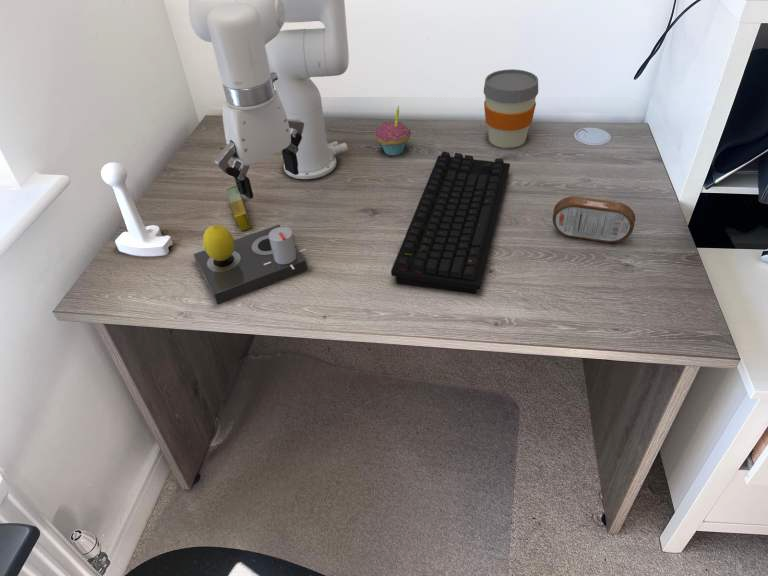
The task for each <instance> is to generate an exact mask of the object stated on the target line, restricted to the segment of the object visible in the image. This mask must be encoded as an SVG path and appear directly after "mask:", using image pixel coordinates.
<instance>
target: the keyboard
mask: <svg viewBox="0 0 768 576" xmlns="http://www.w3.org/2000/svg"><path fill="white" fill-rule="evenodd" d="M510 168H511V163H509V162H505V161H504V158H503V157H502V158H495V159H494V161H493V160H492V161H491V160H484V159H475V158H474V156H473V155H470V154H469V155H467V154H465V155H463V153H460V152H455V153H454V156H451V154H450V152H449V151H442V152H441V154H440V155H437V157H436V160H435V163H434V165H433V168H432V170H431V172H430V175H429V177H428V180H427V182H426V184H425V187H424V190H423V192H422V195H421V197H420V199H419V202H418V204H417V207H416V210H415V211H414V214H413V216H412V219H411V220H410V223H409V226H408V229H407V231H406V233H405V235H404V238H403V240H402V243H401V245H400V248H399V250H398V253H397V255H396V258H395V260H394V263H393V265H392V267H391V270H390V274H391V276H392V277H395V280H396V284H398V285H405V286H411V287H420V288H424V289H425V288H426V289H434V290H442V291H447V292H456V293H462V294H463V293H464V294H469V295H470V294H471V295H477V292H478V290H481V288H482V284H483V279H484V275H485V271H486V267H487V263H488V258H489V255H490V250H491V247H492V242H493V238H494V235H495V230H496V226H497V221H498V217H499V213H500V208H501V205H502V200H503V197H504V192H505V189H506V184H507V179H508V176H509V172H510Z"/></svg>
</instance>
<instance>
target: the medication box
mask: <svg viewBox="0 0 768 576" xmlns="http://www.w3.org/2000/svg"><path fill="white" fill-rule="evenodd" d="M226 192H227V193H226V194H227V197H228V200H229V203H230V207H231V211H232V214H233V217H234V220H235V222H236V225H237V226H238V229H239V231H240V232H243V231H245V230H249V229H251V228H252V227H253V226H252V223H251V220H250V217H249V216H250V215H249V213H248V210H247V207H246V204H245V201H244V198H243V195H242V194H240V193H239V191H238V188H237V185H235V186H232V187H229V188H227V189H226Z"/></svg>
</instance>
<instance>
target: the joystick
mask: <svg viewBox="0 0 768 576" xmlns="http://www.w3.org/2000/svg"><path fill="white" fill-rule="evenodd" d="M100 175H101V178H102V180H103V182H104V183H105V184H107V185H108V186H110V187H111V188H112V190H113V193H114V196H115V198H116V201H117V204H118V206H119V209H120V212H121V215H122V218H123V221H124V224H125V226H126V229H127V231H122V233H120V234H119V236H118V237H117V238H116V239H115V240H114V243H115V246H116V247H117V250H118V252H121V253H124V254H127V255H130V256H135V257H160V256H161V257H162V256H166V255H168V254H169V252H170V250H169V247H172V246H173V245H174V243H173V240H172V237H171V236H170V235H163V234H162V232H161V229H160V227H159V226H158V225H156V224H151V225H147V226H145V223H144V221H143V219H142V217H141V216H140V215H141V214H140V213H139V211H138V209H137V207H136V205H135V202H134V200H133V198H132V196H131V194H130V191H129V189H128V187H127V185H126V181H127V179H128V172H127V169H126V168H125V166H124V165H123V164H122V163H119V162H117V161H109V162H107V163H105V164H104V165H103V166H102V168H101V171H100Z"/></svg>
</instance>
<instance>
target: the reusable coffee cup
mask: <svg viewBox="0 0 768 576" xmlns="http://www.w3.org/2000/svg"><path fill="white" fill-rule="evenodd" d="M483 94H484V98H485V99H484V102H483V107H484V118H485V120H484V121H485V123H486V124H487V134H488V141H489V143H490V144H492V145H493V146H495V147H498V148H502V149H512V148H517V147H521V146H522V145H524V144H525V143H526V141H527V136H528V132H529V128H530V126H531V124H532V122H533V118H534V113H535V110H536V106H537V101H536V98H537V96H538V95H539V77H538V76H537V75H536V74H534V73H532V72H530V71H527V70H523V69H516V68H515V69H514V68H513V69H512V68H511V69H500V70H497V71H493V72H491V73H490V74H488V75H486V77H485V79H484V84H483Z"/></svg>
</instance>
